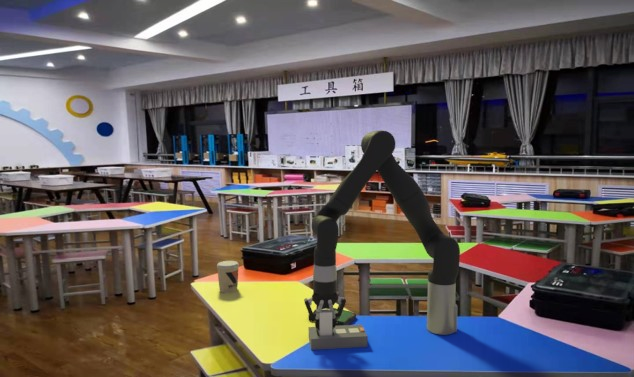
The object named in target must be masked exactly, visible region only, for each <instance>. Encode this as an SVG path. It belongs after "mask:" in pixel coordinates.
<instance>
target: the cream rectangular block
mask: <svg viewBox="0 0 634 377" xmlns="http://www.w3.org/2000/svg"><path fill="white" fill-rule="evenodd" d="M319 314H320V317H319V320H320V330H319V335H320V336H332V312H330V309H326V308H325V309H322V310H321V313H319Z"/></svg>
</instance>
